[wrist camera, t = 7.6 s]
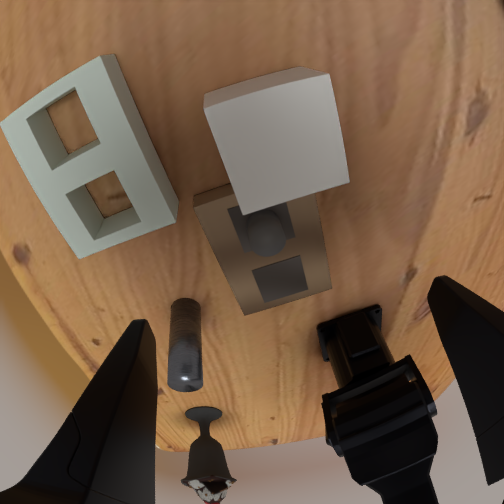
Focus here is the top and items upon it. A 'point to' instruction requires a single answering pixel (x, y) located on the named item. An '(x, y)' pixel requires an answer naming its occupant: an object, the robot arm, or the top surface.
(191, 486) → the sundae
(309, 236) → the board
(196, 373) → the peg
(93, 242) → the board
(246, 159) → the white rectangular block
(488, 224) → the top surface
